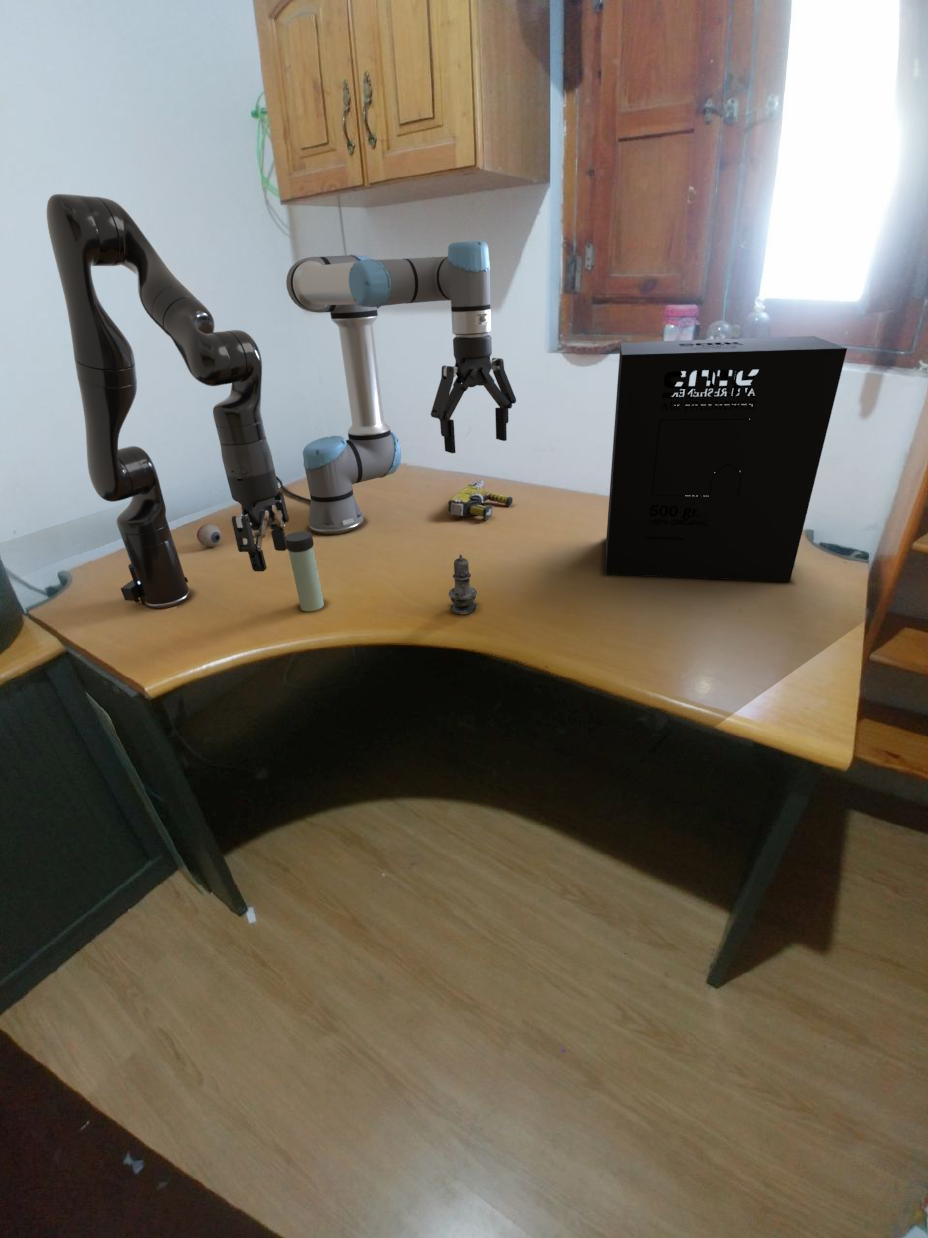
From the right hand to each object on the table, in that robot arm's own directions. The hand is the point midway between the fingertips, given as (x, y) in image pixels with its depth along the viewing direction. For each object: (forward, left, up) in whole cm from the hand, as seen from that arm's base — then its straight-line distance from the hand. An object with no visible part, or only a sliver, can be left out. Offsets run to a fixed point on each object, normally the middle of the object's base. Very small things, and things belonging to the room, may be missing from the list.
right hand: (476, 445), depth 127 cm
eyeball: (-58, -45, -28) cm, 79 cm away
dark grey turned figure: (+14, -15, -28) cm, 35 cm away
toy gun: (-31, +26, -28) cm, 49 cm away
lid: (-9, -39, -12) cm, 42 cm away
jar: (-9, -39, -28) cm, 49 cm away
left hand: (+4, -49, -10) cm, 50 cm away
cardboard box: (+30, +38, -28) cm, 56 cm away
